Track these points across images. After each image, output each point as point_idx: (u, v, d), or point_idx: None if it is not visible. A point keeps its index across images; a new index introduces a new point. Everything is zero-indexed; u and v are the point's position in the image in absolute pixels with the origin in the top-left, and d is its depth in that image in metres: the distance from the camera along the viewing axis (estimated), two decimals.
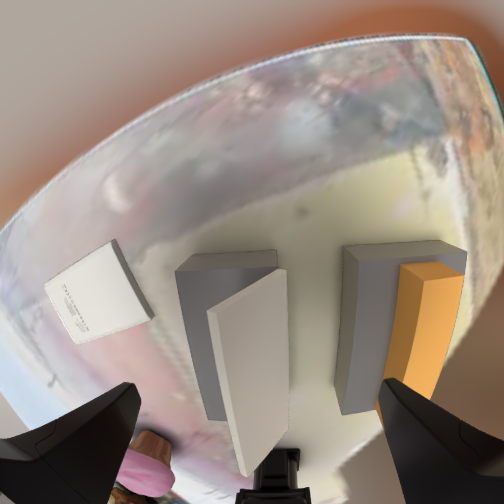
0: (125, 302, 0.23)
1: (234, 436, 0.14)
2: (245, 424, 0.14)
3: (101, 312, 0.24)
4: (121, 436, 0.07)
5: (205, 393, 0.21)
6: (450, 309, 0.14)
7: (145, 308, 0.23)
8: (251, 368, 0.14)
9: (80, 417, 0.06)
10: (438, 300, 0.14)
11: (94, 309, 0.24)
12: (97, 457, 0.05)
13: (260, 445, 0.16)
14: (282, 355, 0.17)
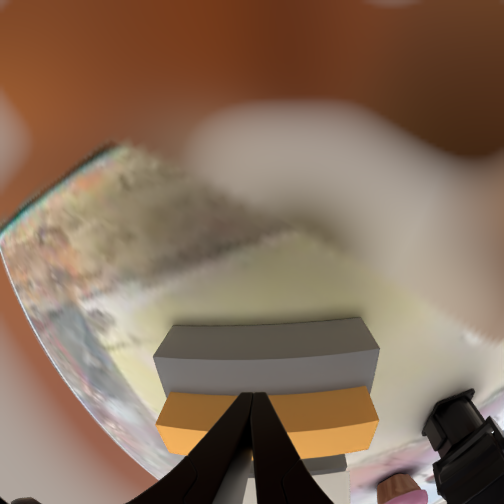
0: None
1: None
2: None
3: None
4: (249, 454, 0.06)
5: None
6: (191, 436, 0.14)
7: None
8: None
9: (215, 446, 0.05)
10: (183, 445, 0.14)
11: None
12: (238, 486, 0.05)
13: None
14: (253, 486, 0.18)
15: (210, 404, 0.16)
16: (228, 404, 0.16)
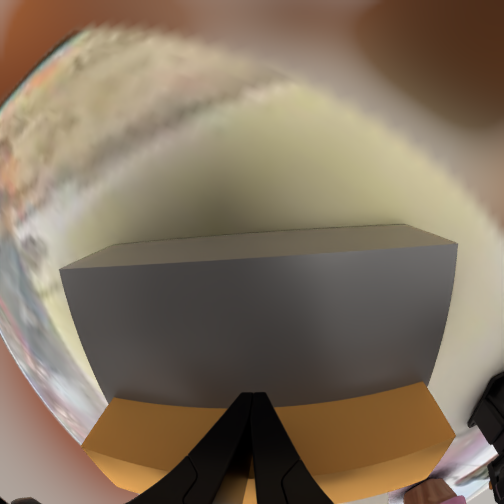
0: None
1: None
2: None
3: None
4: (249, 454, 0.06)
5: None
6: (133, 471, 0.07)
7: None
8: None
9: (215, 446, 0.05)
10: (129, 481, 0.07)
11: None
12: (238, 486, 0.05)
13: None
14: None
15: (167, 421, 0.09)
16: (195, 423, 0.09)
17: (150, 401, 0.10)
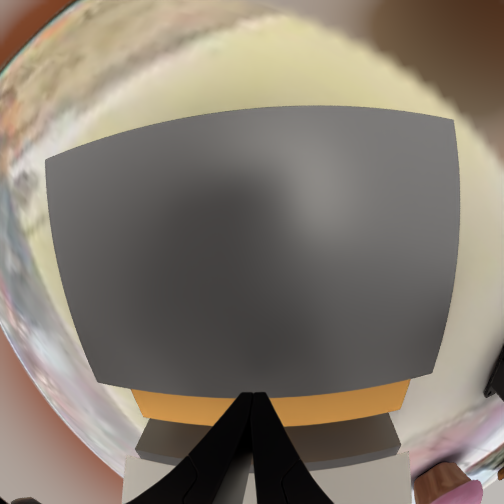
0: None
1: None
2: None
3: None
4: (249, 454, 0.06)
5: None
6: None
7: None
8: None
9: (214, 445, 0.05)
10: None
11: None
12: (237, 486, 0.05)
13: None
14: None
15: None
16: None
17: (120, 314, 0.09)
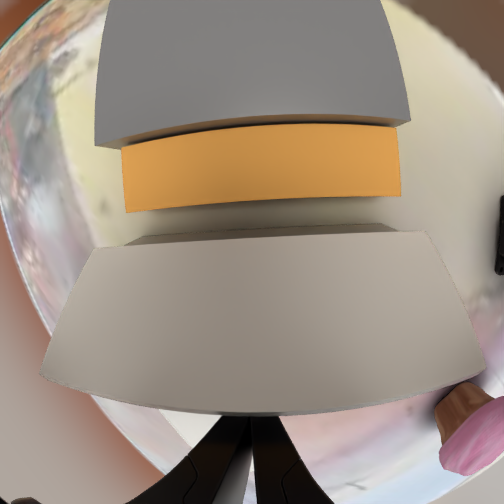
0: None
1: (308, 412, 0.06)
2: (279, 383, 0.06)
3: None
4: (249, 454, 0.06)
5: None
6: None
7: None
8: (150, 340, 0.08)
9: (215, 446, 0.05)
10: None
11: None
12: (238, 486, 0.05)
13: (411, 326, 0.07)
14: (207, 256, 0.10)
15: (178, 155, 0.12)
16: (203, 150, 0.12)
17: (141, 63, 0.10)
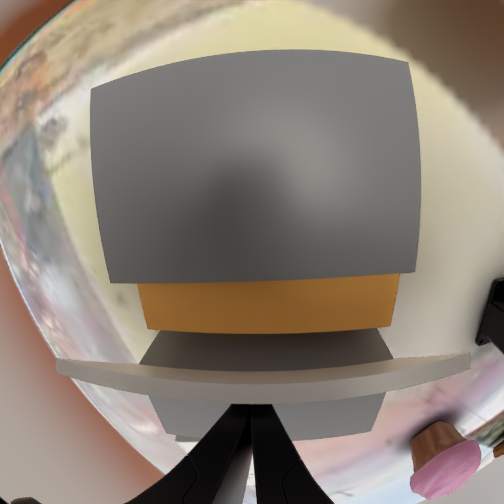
0: None
1: (306, 393, 0.07)
2: (280, 381, 0.08)
3: None
4: (249, 454, 0.06)
5: (320, 435, 0.15)
6: None
7: None
8: (175, 374, 0.09)
9: (215, 446, 0.05)
10: None
11: None
12: (237, 486, 0.05)
13: (388, 366, 0.09)
14: (228, 372, 0.12)
15: (193, 291, 0.14)
16: (217, 291, 0.14)
17: (143, 203, 0.11)
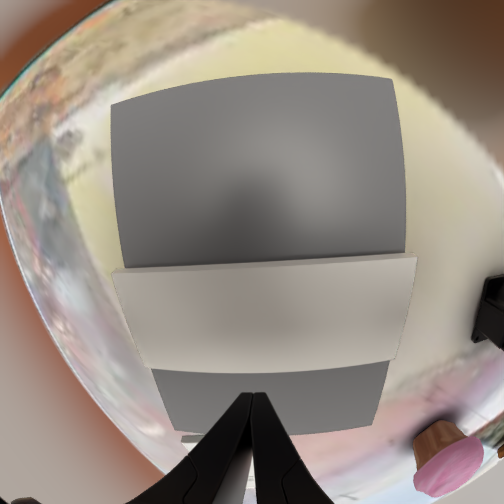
0: None
1: (296, 263, 0.12)
2: None
3: None
4: (249, 454, 0.06)
5: (323, 429, 0.16)
6: None
7: None
8: None
9: (215, 445, 0.05)
10: None
11: None
12: (237, 486, 0.05)
13: None
14: None
15: None
16: None
17: (160, 208, 0.13)
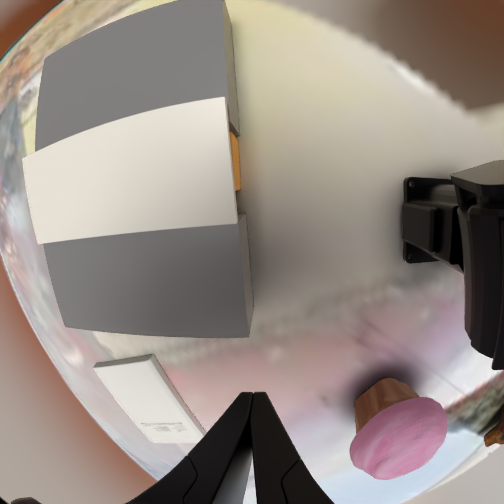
0: (136, 376, 0.22)
1: (120, 119, 0.12)
2: None
3: (155, 402, 0.23)
4: (249, 454, 0.06)
5: (188, 331, 0.16)
6: None
7: (140, 360, 0.22)
8: None
9: (215, 446, 0.05)
10: None
11: (154, 407, 0.23)
12: (237, 486, 0.05)
13: None
14: None
15: None
16: None
17: (58, 112, 0.13)
